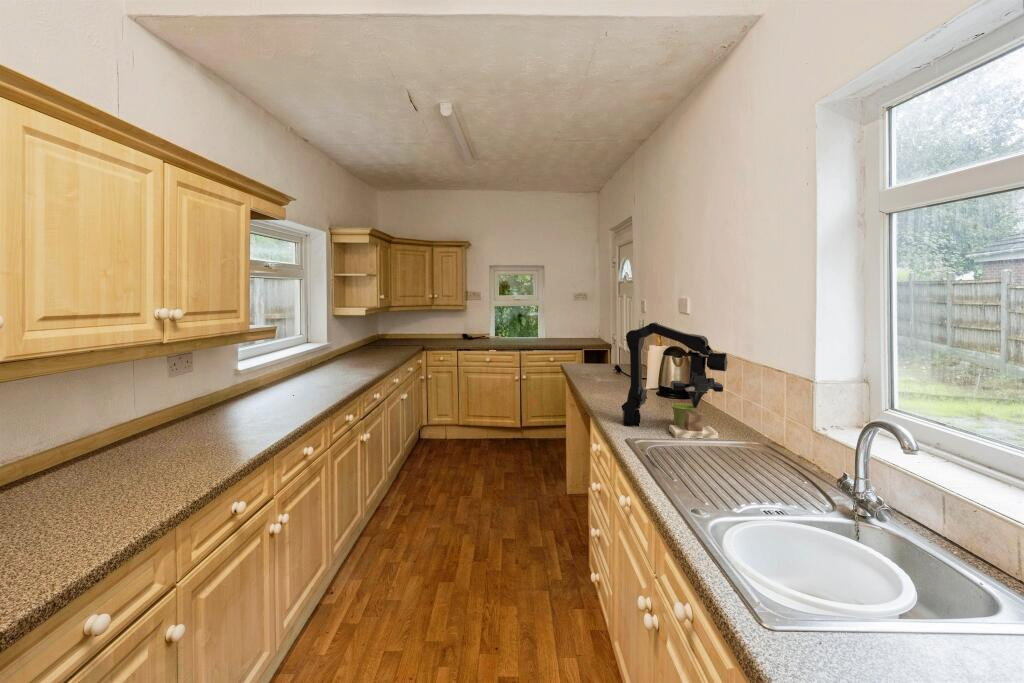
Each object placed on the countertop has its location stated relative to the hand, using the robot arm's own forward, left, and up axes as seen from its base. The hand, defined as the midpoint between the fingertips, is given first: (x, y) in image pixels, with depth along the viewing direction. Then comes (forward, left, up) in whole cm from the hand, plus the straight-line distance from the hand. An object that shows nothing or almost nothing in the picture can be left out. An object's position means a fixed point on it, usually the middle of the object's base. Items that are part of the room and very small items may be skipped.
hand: (694, 407), depth 195 cm
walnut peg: (0, 0, -11) cm, 11 cm away
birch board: (0, 0, -11) cm, 11 cm away
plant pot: (-1, +12, -11) cm, 17 cm away
